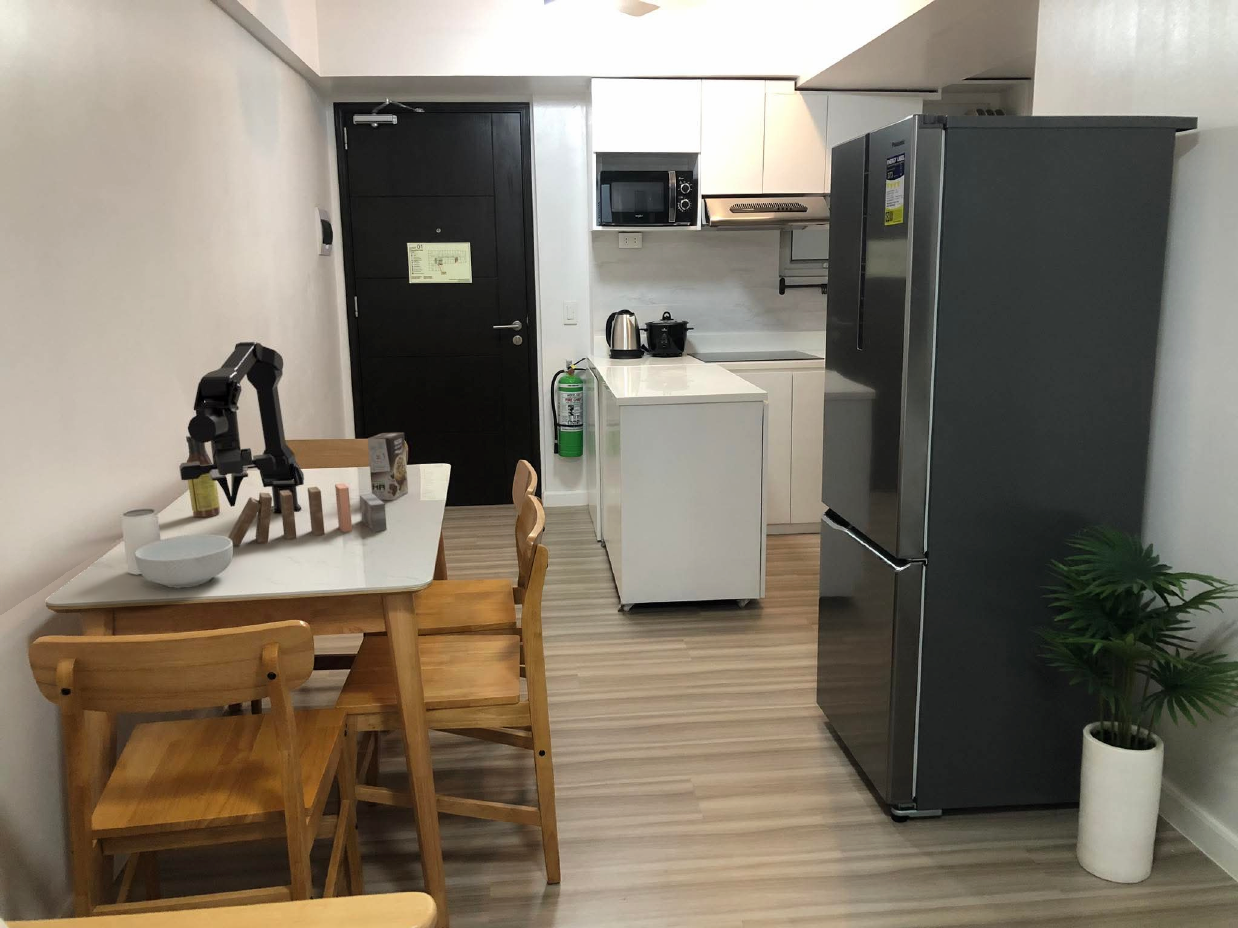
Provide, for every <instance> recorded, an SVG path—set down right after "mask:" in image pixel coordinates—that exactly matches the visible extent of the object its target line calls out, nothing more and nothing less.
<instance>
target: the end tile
mask: <svg viewBox="0 0 1238 928" xmlns="http://www.w3.org/2000/svg"><path fill="white" fill-rule="evenodd" d="M334 488H335V498H336V510H337V511H336V512H337V523H338V528H339V529H340V530H341V531H342V532H343V533H346V532H347V533H348V532H353V528H352V527H353V525H352V515H351V514H352V512H351V500H350V499H351V498H350V489H349V487H348V485H346V484H345V483H339V484H338V483H336V484H335V485H334Z"/></svg>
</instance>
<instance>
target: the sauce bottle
mask: <svg viewBox="0 0 1238 928" xmlns="http://www.w3.org/2000/svg"><path fill="white" fill-rule="evenodd" d="M185 438H186V442H187V447H188V454H189V455H188V457H187V460H186V462H185V463H187V462H197V461H199V463H200V465H207V464H213V461H212V460H211V458H210V456H209V453H208V452H207V449H206V443H200V442H197V441H195V440H194V439H193V438H192V437H191V436H190V434H188V435H186V436H185ZM187 483H188V489H189V497H190V503H191V510H192V514H193V517H195V518H209V517H214V516H217V515H219V514H220V513H221V512H220V508H221V505H220V500H219V499H220V498H219V492H218V485H217V481H212V480H211V478H210V473H205V474H202V475H201V476H200V477H199V478H198V479H191V480H187Z"/></svg>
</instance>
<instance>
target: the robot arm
mask: <svg viewBox="0 0 1238 928" xmlns="http://www.w3.org/2000/svg"><path fill="white" fill-rule="evenodd" d="M234 346H235V347H234V350H233V351H232V352H231V354H230V355H229V356H228V358H227V359H226V360H225V361H224V363H223V364H221V366H220V367H219V368H217V369H215V370H213V371H209V372H207V373H206V374H204V375H203V376H202V377H201V378H200V380H199V382H198V385H197V389H196V394H195V399H194V404H193V411H195V414H196V415H195V416H193V417H192V418H191V419H190V420H189V422H188V426H187V432H188V435H190V436H191V437H192V438H193V439H194V440H195V441H197V442H200V443H205V444H206V443H209V442H210V447H211V454H212V455H211V457H212V464H207V465H200V463H199V461H197V462H187V461H186V462H187V463H186V462H181V463H180V465H179V473H180V475H179V476H180V479H181V481H188V480H191V479H198V478H199V477H200V476H201V475H202V474H205V473H210V478H211V480H212V481H216V482H217V483H218V485H219V486H220V488H222V489H221V490H222V491H223V493H224V494H225V498H226V500H227V502H228V504H229V506H230V507H235V506H236V502H237V497H238V494H239V489H240V486H241V483H242V482H243V479H244V478H248V477H249V473H248V472H247V471H248V470H249V469H257V470H258V471H259V474H260V479H261V482H262V486H263V488H271V493H272V495H271V496H272V504H273V505H271V512H273V513H275V514H277V513H278V514H280V513H282V511H281V501H280V491H285V490H289V491H290V492H291V493H292V495H293V506H294V512H295V511H301V510H302V509H303V508H302V506H301V505H300V504H299V503H298V501H299V500H298V491H297V487H299V486H303V485H304V483H305V475H304V472H303V470H302V469H301V467H300V465H299V463H298V462H297V461H296V455H295V453H294V452H293V450H292V449H291V448H290V447H289V445H288V444H286V437H285V429H284V423H283V414H282V408H281V404H280V403H281V402H280V396H279V389H278V388H279V387H278V385H279V383H280V381H281V380H282V377H283V368H284V359H283V356H282V355H281V354H280V353H279V351H276V350H275V349H272V348H270V347H267V346H264V345H262V343H260V342H257V341H246V342H245V341H242V342H241V341H240V342H239V343H236V344H235V345H234ZM245 376H246V379H247V381H248V382H249V383H250V385H252V387H253V388H254V390H256V391H255V392H256V397H257V402H258V404H257V405H258V409H259V410H258V411H259V415H260V416H259V417H260V422H261V430H262V435H263V440H264V451H263V452H262V454H256V455H252V449H251V447H250V448H248V447H247V448H241V440H240V438H241V437H240V431H239V423H238V422H239V421H238V414H237V413H238V412H237V411H238V410H239V409H240V407H239V406H238V403H239V399H240V396H241V393H242V386H241V382H242V381H243V379H244V378H245ZM227 475H231V478H230V480H231V481H230V482H231V483H230V484H231V488H229V484H228V483H229V482H228V478H227Z"/></svg>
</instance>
